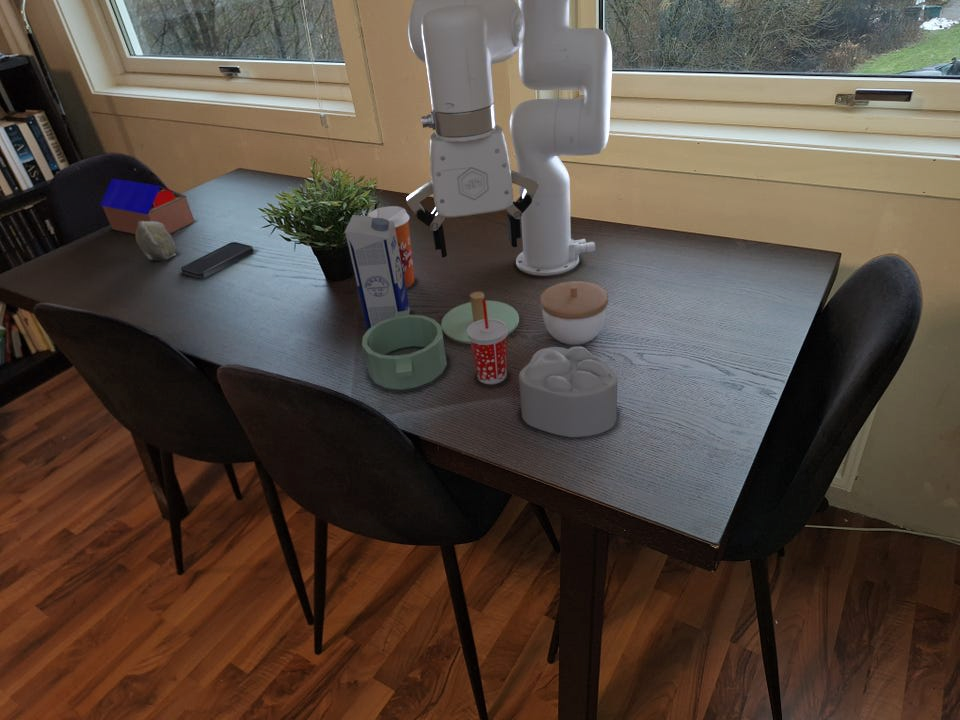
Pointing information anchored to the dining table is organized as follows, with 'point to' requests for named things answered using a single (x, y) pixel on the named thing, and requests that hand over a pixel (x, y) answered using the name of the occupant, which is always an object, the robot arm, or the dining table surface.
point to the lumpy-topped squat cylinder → (568, 392)
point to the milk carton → (377, 267)
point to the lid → (476, 317)
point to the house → (144, 206)
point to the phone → (217, 260)
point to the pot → (409, 366)
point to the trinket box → (574, 311)
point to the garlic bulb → (155, 240)
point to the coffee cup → (399, 237)
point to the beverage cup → (489, 348)
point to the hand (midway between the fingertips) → (478, 248)
